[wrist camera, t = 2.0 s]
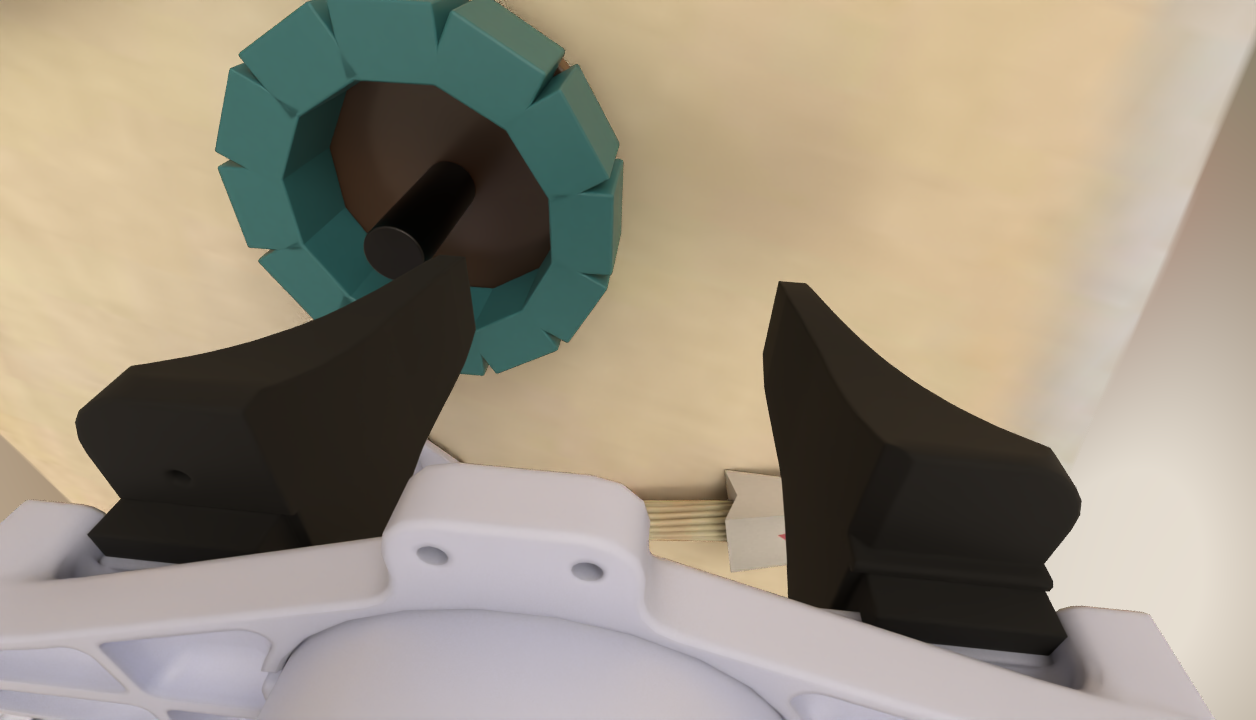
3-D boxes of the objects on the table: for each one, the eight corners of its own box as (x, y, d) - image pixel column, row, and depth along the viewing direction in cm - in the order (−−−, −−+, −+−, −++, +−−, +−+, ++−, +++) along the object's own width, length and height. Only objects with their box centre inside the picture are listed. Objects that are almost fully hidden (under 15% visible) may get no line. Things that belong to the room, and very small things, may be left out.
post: (483, 353, 24) (437, 452, 20) (243, 160, 20) (121, 234, 16) (681, 191, 20) (677, 277, 15) (420, -106, 15) (312, -104, 11)
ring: (528, 372, 24) (511, 421, 22) (246, 226, 21) (193, 265, 19) (692, 137, 18) (692, 172, 16) (326, -117, 15) (261, -119, 13)
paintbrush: (963, 580, 26) (518, 565, 30) (945, 526, 28) (532, 519, 32) (981, 523, 23) (496, 515, 27) (960, 469, 25) (513, 470, 29)
